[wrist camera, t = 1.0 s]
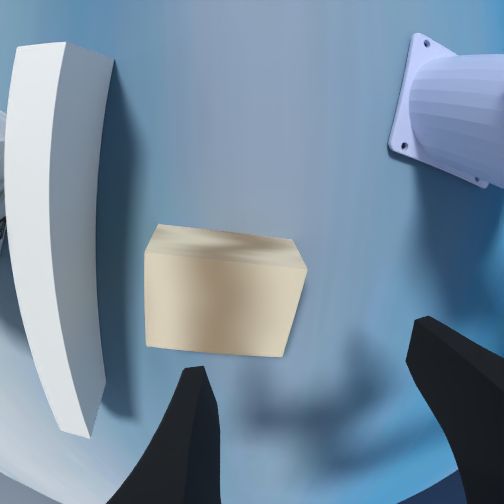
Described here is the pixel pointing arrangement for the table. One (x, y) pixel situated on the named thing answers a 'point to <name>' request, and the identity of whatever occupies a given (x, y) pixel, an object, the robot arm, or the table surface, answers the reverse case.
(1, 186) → the light bulb box
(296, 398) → the table surface
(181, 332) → the maple block
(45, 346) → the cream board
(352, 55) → the table surface
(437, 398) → the robot arm
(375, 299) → the table surface
